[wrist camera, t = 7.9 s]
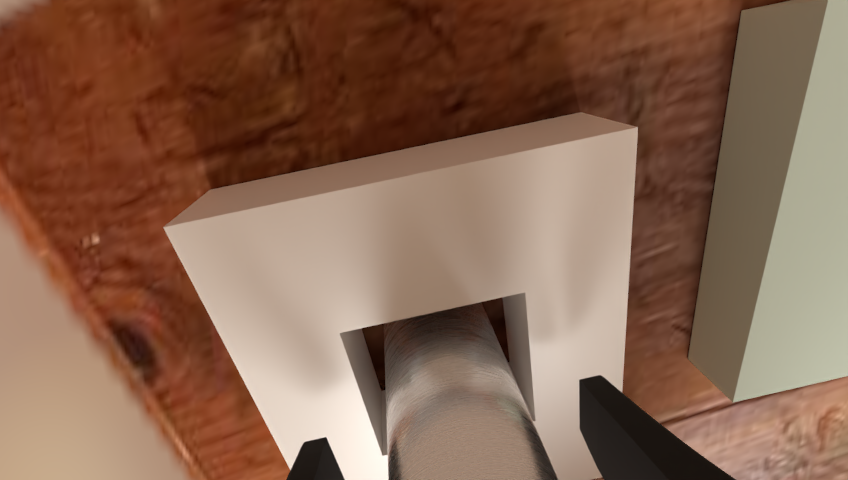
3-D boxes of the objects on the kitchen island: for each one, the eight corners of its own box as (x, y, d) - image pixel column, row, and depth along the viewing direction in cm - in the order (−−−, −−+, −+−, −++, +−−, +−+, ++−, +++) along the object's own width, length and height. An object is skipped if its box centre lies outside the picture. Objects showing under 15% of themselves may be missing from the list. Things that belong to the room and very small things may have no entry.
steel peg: (488, 350, 16) (599, 640, 8) (393, 369, 16) (412, 683, 8) (479, 268, 15) (610, 534, 6) (373, 289, 14) (372, 586, 6)
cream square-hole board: (582, 413, 19) (617, 473, 16) (334, 469, 18) (327, 541, 16) (580, 112, 12) (637, 127, 10) (210, 189, 12) (163, 227, 10)
